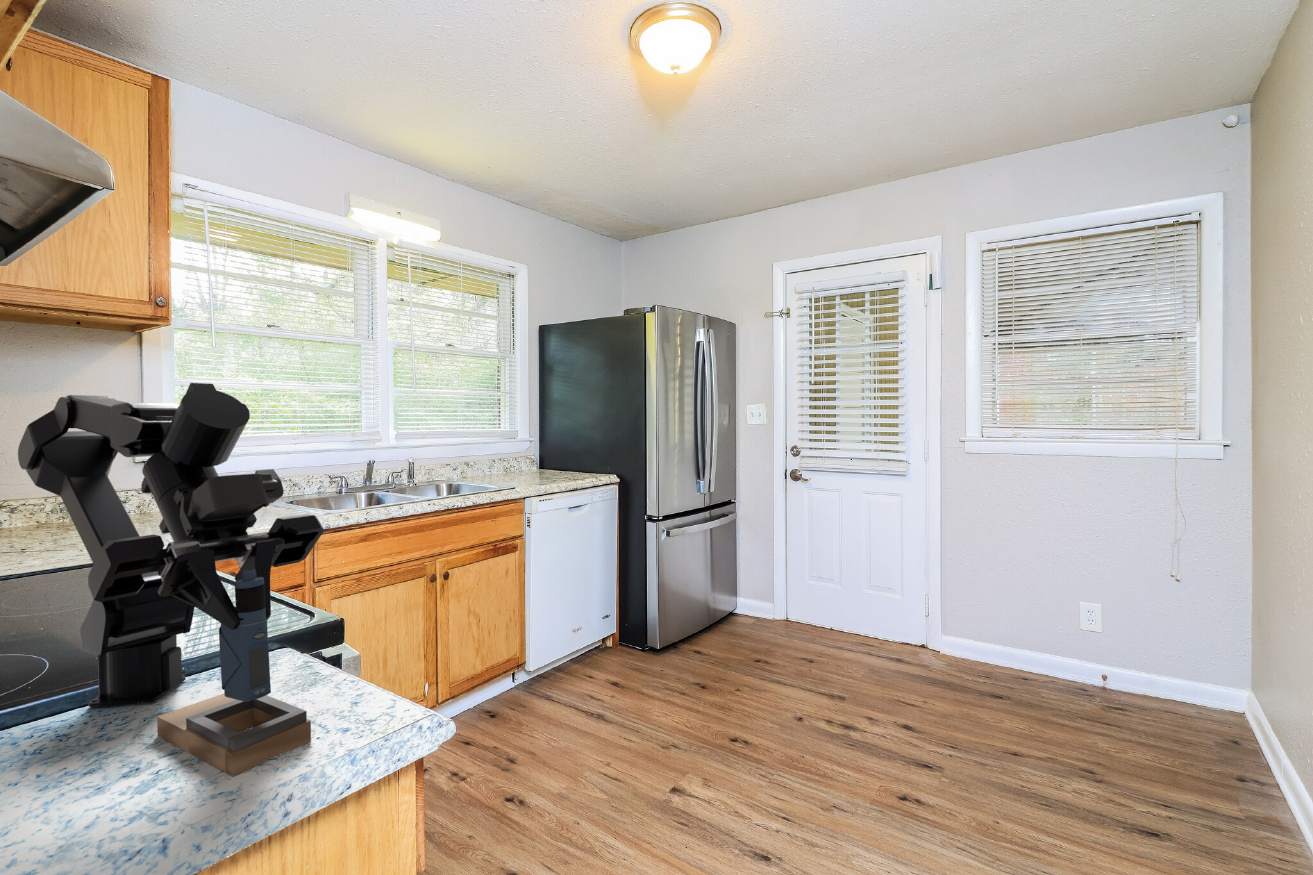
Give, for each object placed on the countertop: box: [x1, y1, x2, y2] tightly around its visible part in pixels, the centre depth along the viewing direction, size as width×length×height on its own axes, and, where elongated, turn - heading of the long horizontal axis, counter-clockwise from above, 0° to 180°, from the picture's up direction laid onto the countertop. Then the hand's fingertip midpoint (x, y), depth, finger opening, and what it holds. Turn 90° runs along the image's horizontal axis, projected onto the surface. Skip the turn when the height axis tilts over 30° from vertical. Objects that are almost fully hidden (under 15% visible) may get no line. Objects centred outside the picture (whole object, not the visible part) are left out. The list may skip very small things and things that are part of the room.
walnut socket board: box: [156, 693, 312, 777], centre depth 61 cm, size 14×7×3 cm, turn 60°
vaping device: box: [218, 569, 272, 701], centre depth 60 cm, size 3×5×12 cm, turn 62°
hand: (252, 622), depth 59 cm, fingers closed on vaping device, 2 cm apart
